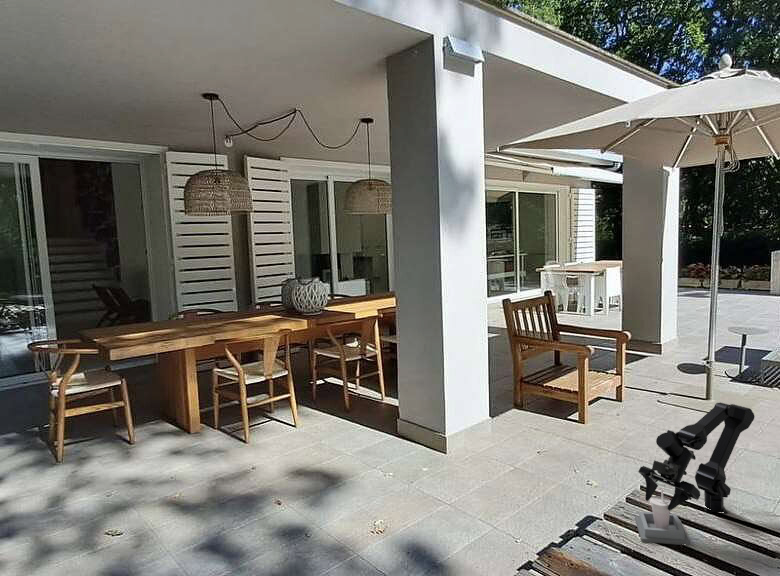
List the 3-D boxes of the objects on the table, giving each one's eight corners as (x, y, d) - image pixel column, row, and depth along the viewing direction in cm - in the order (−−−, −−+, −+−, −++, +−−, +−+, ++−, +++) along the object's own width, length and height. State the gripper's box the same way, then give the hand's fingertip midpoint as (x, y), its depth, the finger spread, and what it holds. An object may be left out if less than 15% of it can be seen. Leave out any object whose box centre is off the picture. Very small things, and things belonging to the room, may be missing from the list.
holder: (634, 518, 181) (634, 509, 181) (680, 522, 177) (679, 512, 177) (641, 541, 168) (641, 531, 168) (690, 545, 164) (690, 534, 163)
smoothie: (670, 536, 168) (669, 494, 166) (648, 530, 172) (647, 490, 170) (674, 526, 173) (673, 486, 171) (653, 521, 177) (651, 481, 175)
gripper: (640, 442, 180) (620, 482, 176) (693, 460, 164) (672, 504, 160) (656, 459, 185) (636, 498, 180) (709, 477, 168) (689, 521, 164)
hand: (657, 505), depth 171 cm, fingers open, 8 cm apart
